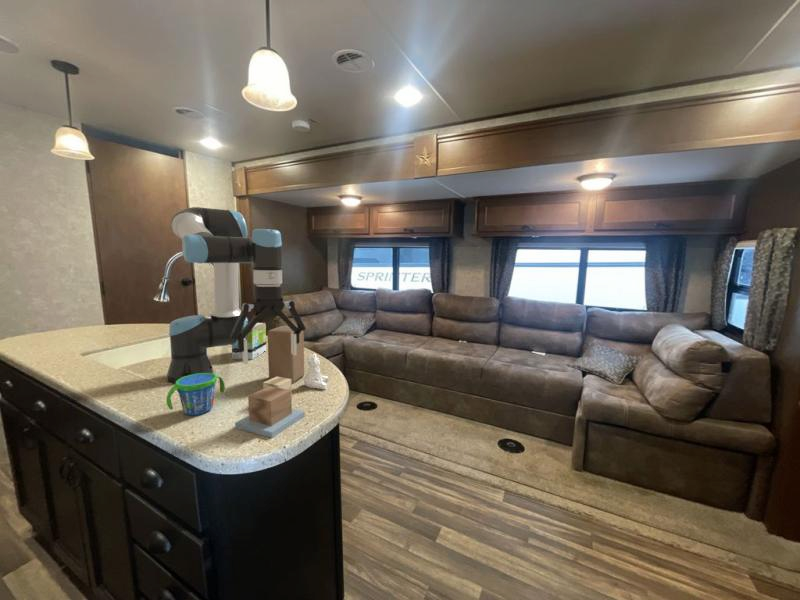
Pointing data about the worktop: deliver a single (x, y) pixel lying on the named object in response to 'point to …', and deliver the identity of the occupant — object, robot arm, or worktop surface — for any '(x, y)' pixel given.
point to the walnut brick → (270, 405)
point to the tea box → (253, 343)
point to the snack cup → (196, 392)
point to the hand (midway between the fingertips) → (270, 358)
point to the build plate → (266, 429)
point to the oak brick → (279, 383)
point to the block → (285, 354)
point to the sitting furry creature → (315, 374)
